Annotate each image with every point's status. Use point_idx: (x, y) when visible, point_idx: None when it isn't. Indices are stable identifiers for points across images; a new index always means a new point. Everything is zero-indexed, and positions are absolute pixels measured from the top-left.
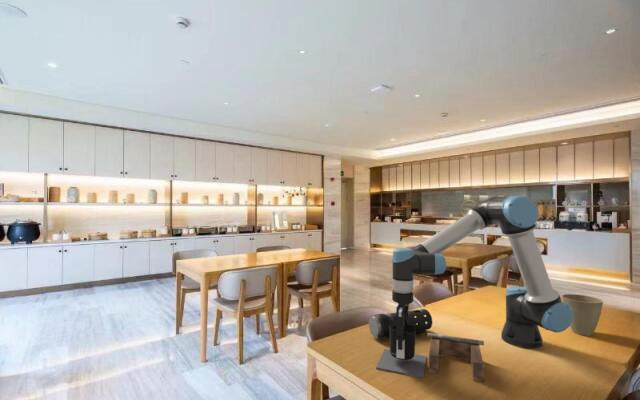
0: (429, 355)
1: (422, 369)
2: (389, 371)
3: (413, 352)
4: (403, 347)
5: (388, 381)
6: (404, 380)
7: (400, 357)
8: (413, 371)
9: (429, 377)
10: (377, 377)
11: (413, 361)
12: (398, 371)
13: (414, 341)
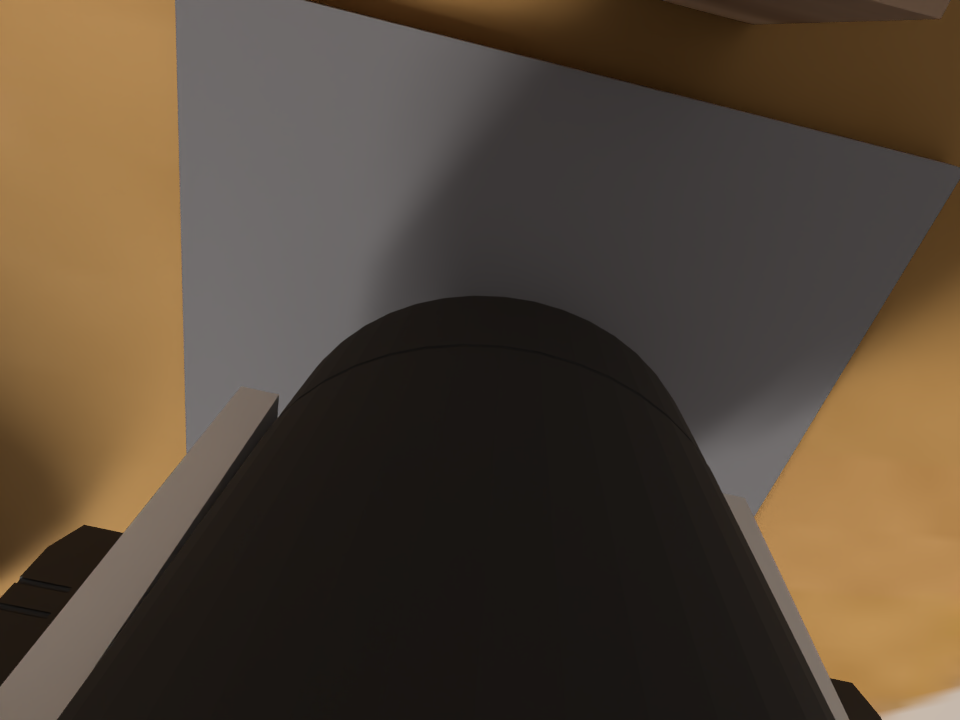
0: (934, 3)
1: (729, 145)
2: None
3: (626, 373)
4: (826, 695)
5: (940, 565)
6: (954, 419)
7: None
8: (792, 298)
9: (939, 50)
10: (840, 638)
11: (462, 252)
12: (778, 476)
13: (656, 530)
